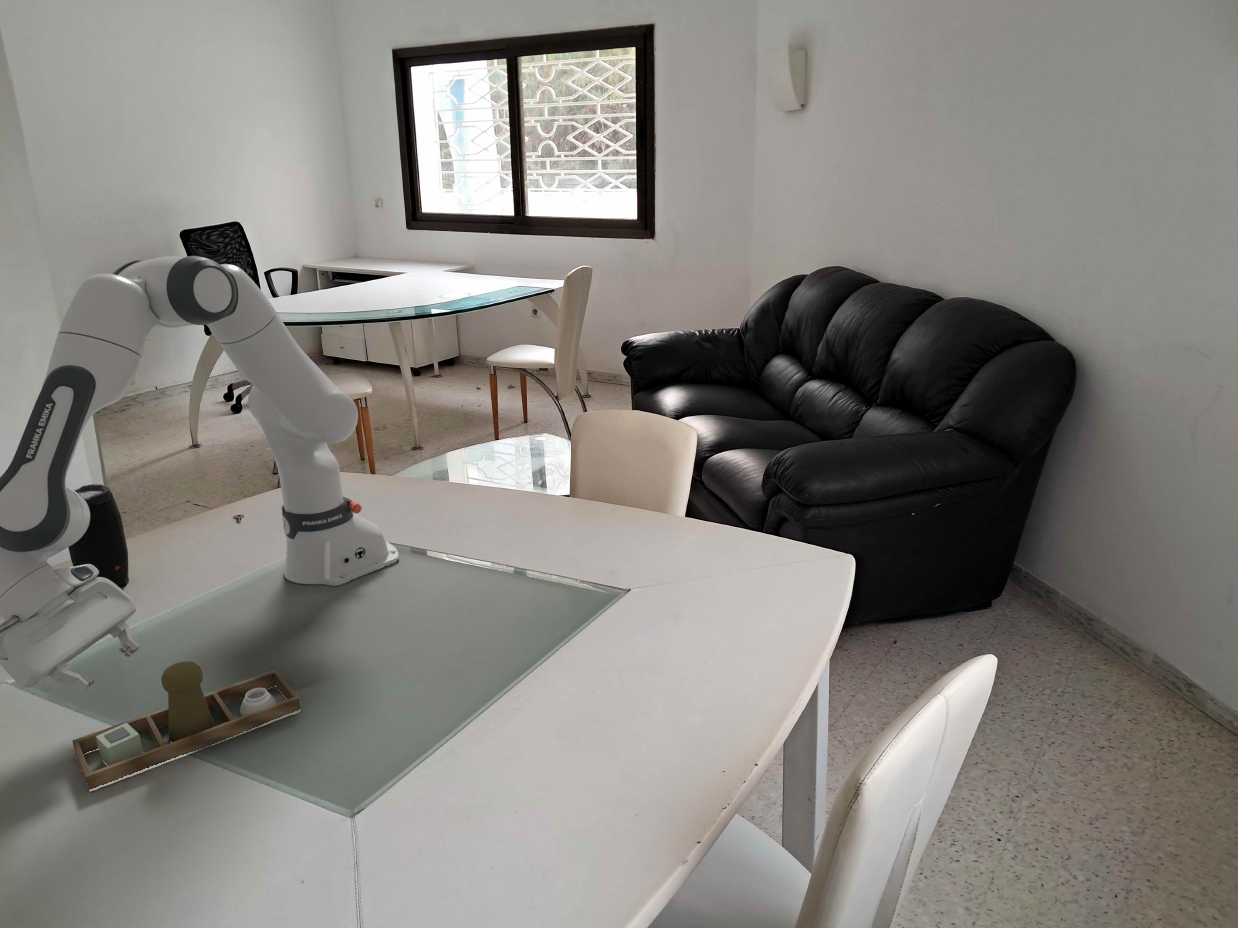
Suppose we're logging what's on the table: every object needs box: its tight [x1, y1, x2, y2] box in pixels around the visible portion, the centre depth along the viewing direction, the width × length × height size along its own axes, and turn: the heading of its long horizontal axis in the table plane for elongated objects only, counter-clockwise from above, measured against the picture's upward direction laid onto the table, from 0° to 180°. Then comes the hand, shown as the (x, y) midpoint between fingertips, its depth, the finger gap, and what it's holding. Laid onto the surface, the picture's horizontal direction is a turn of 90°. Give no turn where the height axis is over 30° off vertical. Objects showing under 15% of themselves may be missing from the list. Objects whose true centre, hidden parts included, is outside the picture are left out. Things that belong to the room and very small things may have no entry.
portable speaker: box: [67, 483, 130, 587], centre depth 165 cm, size 9×9×20 cm
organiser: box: [72, 669, 302, 791], centre depth 125 cm, size 28×10×2 cm, turn 130°
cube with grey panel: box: [96, 723, 144, 766], centre depth 120 cm, size 4×4×4 cm
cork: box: [160, 660, 216, 743], centre depth 124 cm, size 6×6×11 cm
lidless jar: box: [239, 688, 277, 716], centre depth 131 cm, size 5×3×5 cm
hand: (112, 669), depth 125 cm, fingers open, 8 cm apart
